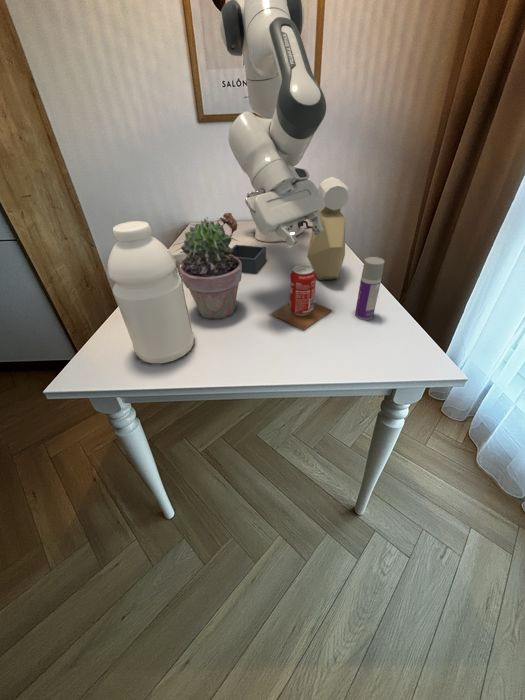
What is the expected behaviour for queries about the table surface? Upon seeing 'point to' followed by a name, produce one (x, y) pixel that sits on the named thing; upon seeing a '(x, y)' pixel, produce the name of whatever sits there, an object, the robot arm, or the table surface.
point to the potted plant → (211, 267)
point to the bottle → (149, 294)
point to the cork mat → (301, 321)
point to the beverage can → (302, 290)
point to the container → (369, 287)
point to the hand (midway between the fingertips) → (307, 238)
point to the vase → (329, 231)
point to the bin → (250, 257)
